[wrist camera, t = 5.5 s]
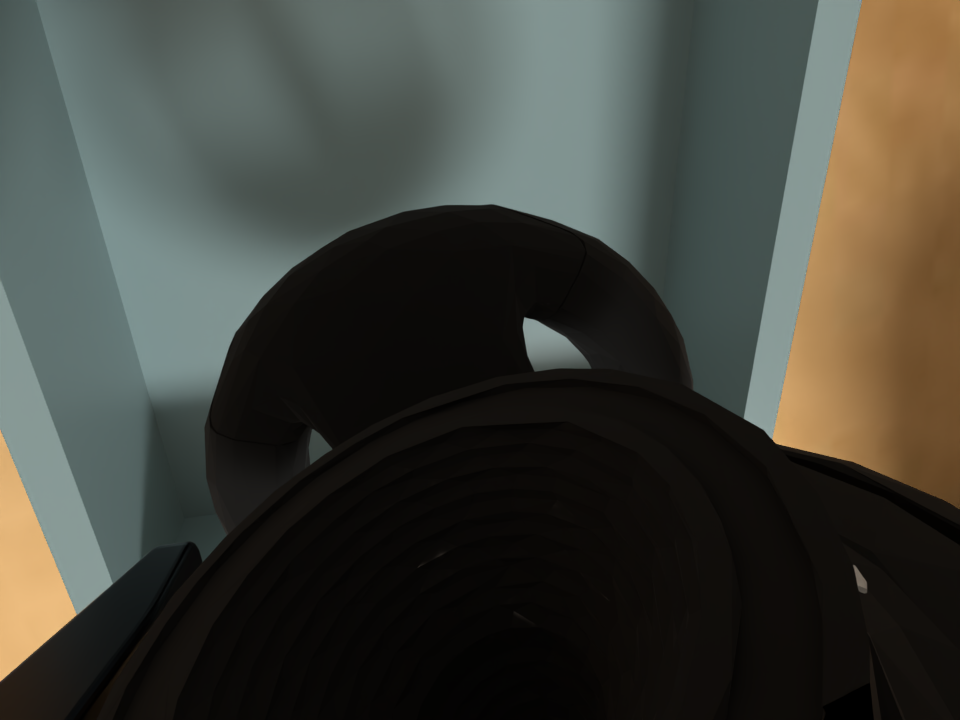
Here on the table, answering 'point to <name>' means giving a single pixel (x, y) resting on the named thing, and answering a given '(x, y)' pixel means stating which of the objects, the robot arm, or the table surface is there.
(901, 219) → the table surface
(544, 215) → the tote
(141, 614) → the robot arm
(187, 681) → the webcam
